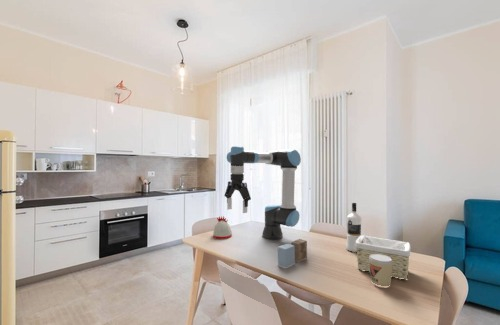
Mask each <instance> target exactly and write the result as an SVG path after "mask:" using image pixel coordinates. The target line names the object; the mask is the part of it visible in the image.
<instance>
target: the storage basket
mask: <svg viewBox="0 0 500 325" xmlns="http://www.w3.org/2000/svg"><path fill="white" fill-rule="evenodd" d="M355 243H356V245H355V247H356V248H357V253H356V262H357V269H358V270H359V269H360V270H359V271H362V270H365V271H369V272H368V273H370V259H369V257H370V255H371V254H381V255H385V256H388V257H390V258H391V259H392V261H393V263H392V273H391V276H392V277H398V278H404V279H405V280H404V281H407V280H406V279H407V275H408V276H409V262H410V256H411V251H412V250H411V248H412V246H411V243H410V242H408V241H401V240H394V239H387V238H380V237H375V236H369V235H364V234H361V236H360V237H359V238H358V239H357V240H356V242H355ZM365 271H364V272H365ZM392 277H391V278H392Z"/></svg>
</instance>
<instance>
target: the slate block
mask: <svg viewBox="0 0 500 325" xmlns="http://www.w3.org/2000/svg"><path fill="white" fill-rule="evenodd" d="M295 262H296V261H295V246H294V245H291V243H285V244H282V245H280V246H277V266H278V267H280V268H283V269H288V268H290V267H292V266H293V265H295Z"/></svg>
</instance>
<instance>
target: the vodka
mask: <svg viewBox="0 0 500 325" xmlns="http://www.w3.org/2000/svg"><path fill="white" fill-rule="evenodd" d="M346 223H347V224H346V225H347V226H346V227H347V228H346V230H347V231H346V236H347V238H346V244H345V249H346V250H347V251H348V250H349V252H350V251H352V252H351V253H356V252H357V248H356V247H355V245H356V243H355V242H356V240H357V239H358V238H359V237H360V236H361V235H362V217H361V215H359V213H357V203H356V202H351V212H350V213H349V214H347V217H346Z"/></svg>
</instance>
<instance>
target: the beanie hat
mask: <svg viewBox="0 0 500 325" xmlns="http://www.w3.org/2000/svg"><path fill="white" fill-rule="evenodd" d="M216 219H217V221H218V222H217V224H216V225H215V226H214V229H213V234H212V235H213V236H212V237H213V238H214V239H217V240H226V239H231V238H232V237H233V233H232V232H233V231H232V229H231V226H230V224H229V222H228V221H229V219H227V217H225V216H222V215H221V216H220V215H219V217H217V218H216ZM226 219H227V220H226Z"/></svg>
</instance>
